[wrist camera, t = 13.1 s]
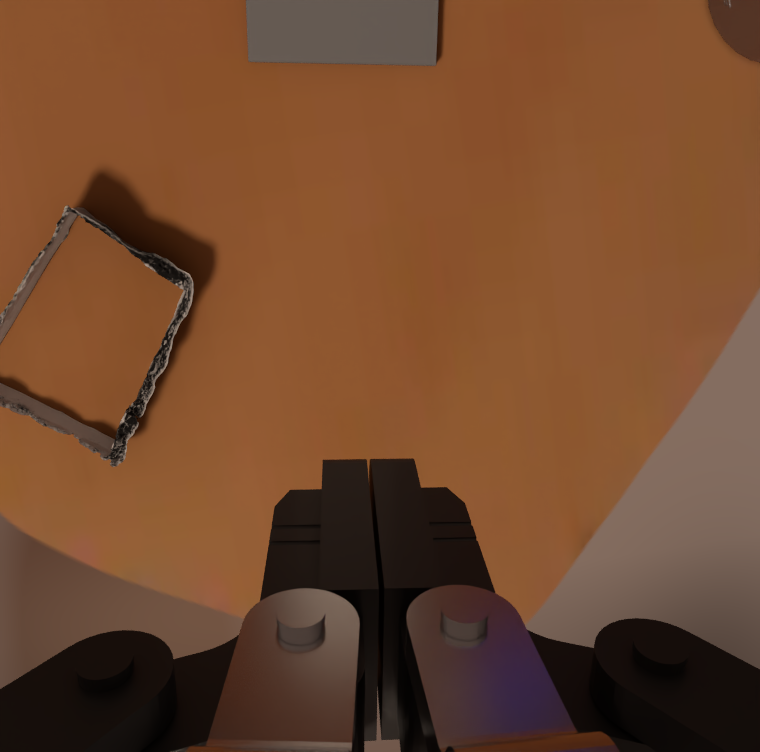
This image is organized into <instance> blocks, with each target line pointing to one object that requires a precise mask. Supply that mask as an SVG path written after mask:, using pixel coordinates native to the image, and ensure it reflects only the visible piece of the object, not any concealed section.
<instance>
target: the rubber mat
mask: <svg viewBox="0 0 760 752" xmlns="http://www.w3.org/2000/svg"><path fill="white" fill-rule="evenodd" d="M246 13H247V37H248V60H249V62H275V63H323V64H372V65H420V66H435V65H436V53H437V27H438V0H246Z"/></svg>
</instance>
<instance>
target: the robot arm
mask: <svg viewBox="0 0 760 752" xmlns="http://www.w3.org/2000/svg"><path fill="white" fill-rule="evenodd" d="M708 5H709V10H710V13H711V16H712V19H713V21H714V24H715V27H716V28H717V30H718V31H719V33H720V34H721V36H722V38H723V39H724V41H725V42H726V43H727V44H728V45H730V46H731V47H732V48H733V49H734V50H735V51H736V52H737V53H739V54H741V55H743V56H744V57H746V58H748V59H750V60H752V61H756V62H760V0H708ZM377 687H378V700H379V713H380V727H381V739H382V740H392V739H400V748H401V752H760V669H758V668H756V667H754V666H752V665H750V664H748V663H746V662H744V661H743V660H741V659H739V658H737V657H735V656H733V655H731V654H729V653H727V652H725V651H724V650H722V649H720V648H718V647H716V646H714V645H712V644H710V643H709V642H707V641H705V640H703V639H701V638H699V637H697V636H695V635H693V634H691V633H690V632H687V631H685V630H683V629H681V628H679V627H677V626H674V625H671V624H668V623H664V622H661V621H656V620H649V619H638V618H635V619H624V620H619V621H616V622H613V623H611V624H609V625H607V626H606V627H604V628H603V629H602V630H601V631H600V632H599V634H598V635H597V637H596V640H595V644H594V648H590V647H585V646H580V645H575V644H570V643H565V642H560V641H556V640H552V639H548V638H545V637H543V636H540V635H537V634H535V633H533V632H531V631H528V630H527V629H526V627H525V625H524V623H523V621H522V619H521V617H520V615H519V613H518V612H517V610H516V609H515V608H514V607H513V606H512V604H511V603H509V602H508V601H507V600H505V599H504V598H503V597H501V596H499V595H497V594H496V593H495V590H494V588H493V585H492V582H491V579H490V576H489V573H488V570H487V567H486V564H485V561H484V558H483V555H482V552H481V549H480V546H479V544H478V541H476V535H475V532H474V529H473V526H472V525H471V520H470V517H469V514H468V511H467V508H466V505H465V503H464V502H463V501H462V500H461V499H459V498H458V497H457V496H456V495H455V494H454V493H452V492H451V491H450V490H449V489H448V488H447V487H438V488H421V486H420V482H419V477H418V473H417V469H416V465H415V461H414V459H370V466H369V479H368V468H367V460H366V459H352V460H323V471H322V489H316V490H290V491H289V492H288V493H287V494H286V495H285V496H284V497H283V498H282V499H281V500H280V501H279V502H278V504H277V505H276V506H275V508H274V515H273V521H272V529H271V534H270V540H269V547H268V553H267V560H266V566H265V572H264V579H263V585H262V592H261V598H260V602H258V603H257V604H256V605H255V606H254V607H253V608H251V609H250V611H249V612H248V613H247V615H246V616H245V618H244V621H243V623H242V627H241V630H240V633H239V635H238V636H237V637H235V638H234V639H232V640H230V641H228V642H227V643H225V644H223V645H221V646H218V647H216V648H213V649H210V650H207V651H204V652H200V653H196V654H192V655H188V656H185V657H181V658H177V659H173V655H172V652H171V650H170V648H169V647H168V646H167V645H166V644H165V642H163V641H162V640H161V639H159V638H158V637H156V636H154V635H152V634H148V633H145V632H140V631H126V630H122V631H112V632H107V633H102V634H98V635H95V636H92V637H89V638H86V639H84V640H82V641H79V642H77V643H75V644H74V645H72V646H70V647H68V648H67V649H65V650H63V651H62V652H60V653H58V654H57V655H55V656H54V657H52V658H50V659H49V660H47V661H45V662H44V663H42V664H41V665H39V666H37V667H36V668H34V669H32V670H31V671H29V672H28V673H26V674H24V675H23V676H21V677H19V678H18V679H16V680H15V681H13V682H12V683H10V684H8V685H6V686H5V687H3V688H2V689H0V752H364V741H372V740H373V741H374V740H376V730H377Z"/></svg>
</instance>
